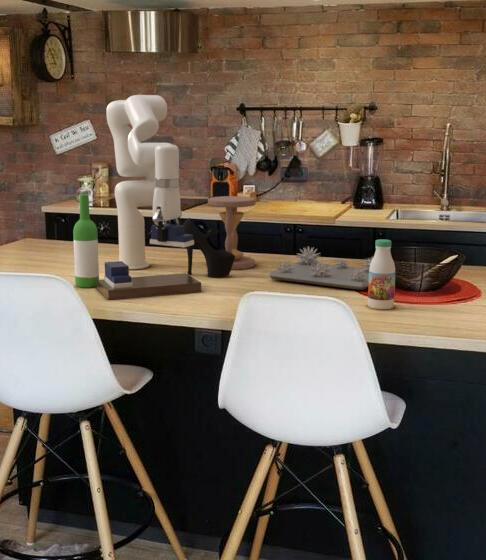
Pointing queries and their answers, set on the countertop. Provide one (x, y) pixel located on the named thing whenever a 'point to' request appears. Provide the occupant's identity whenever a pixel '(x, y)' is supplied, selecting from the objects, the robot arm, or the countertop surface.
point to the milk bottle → (381, 277)
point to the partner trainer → (117, 275)
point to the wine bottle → (85, 247)
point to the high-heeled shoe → (208, 251)
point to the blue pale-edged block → (173, 236)
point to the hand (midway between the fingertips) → (167, 239)
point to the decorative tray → (323, 272)
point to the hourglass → (233, 226)
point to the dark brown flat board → (152, 286)
